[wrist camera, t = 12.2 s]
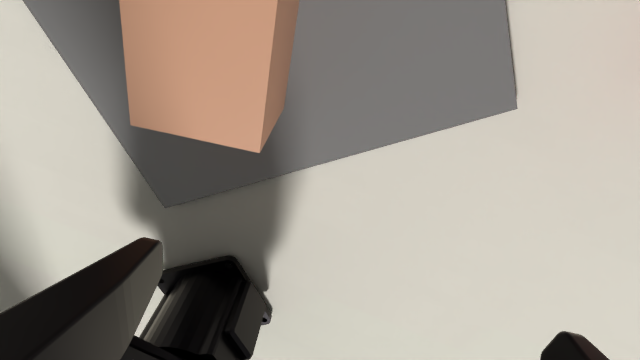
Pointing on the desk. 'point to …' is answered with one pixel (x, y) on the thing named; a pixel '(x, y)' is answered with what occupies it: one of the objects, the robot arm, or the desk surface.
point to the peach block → (208, 67)
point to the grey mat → (310, 85)
